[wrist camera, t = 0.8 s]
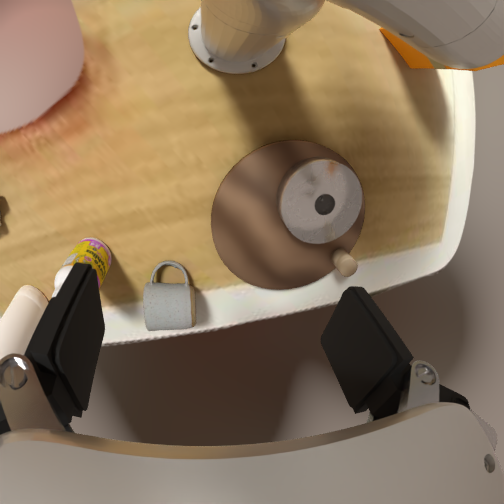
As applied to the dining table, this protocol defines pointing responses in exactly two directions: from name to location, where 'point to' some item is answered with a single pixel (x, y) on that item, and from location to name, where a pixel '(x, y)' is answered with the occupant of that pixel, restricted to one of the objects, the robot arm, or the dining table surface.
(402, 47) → the orange juice
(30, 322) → the bottle
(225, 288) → the dining table surface
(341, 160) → the lazy susan
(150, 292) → the ceramic mug
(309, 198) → the steel cover
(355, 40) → the dining table surface
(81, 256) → the supplement bottle
